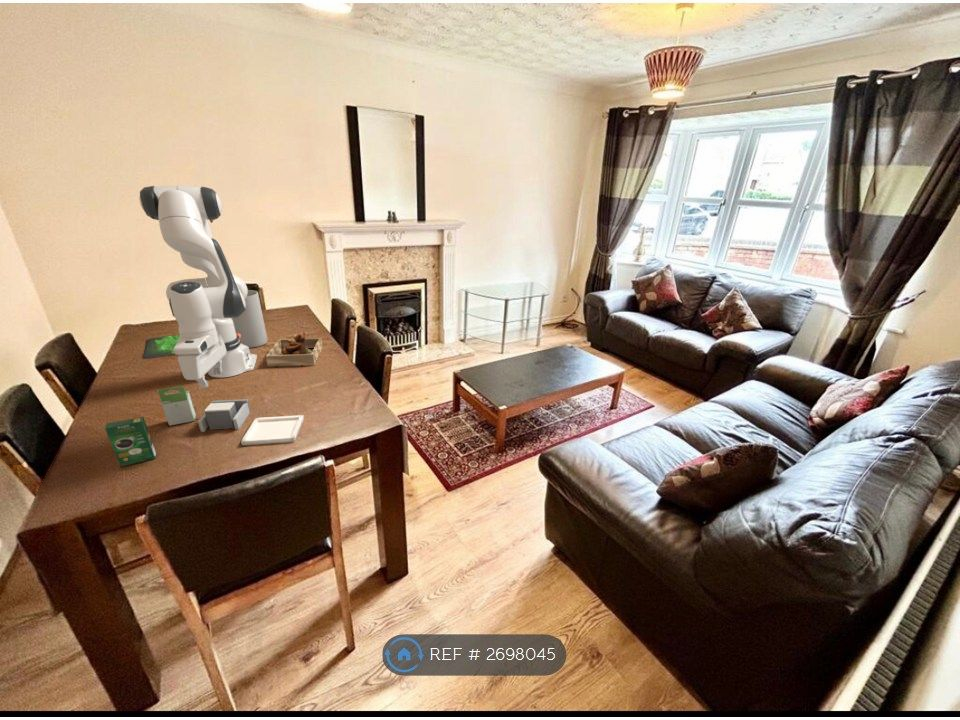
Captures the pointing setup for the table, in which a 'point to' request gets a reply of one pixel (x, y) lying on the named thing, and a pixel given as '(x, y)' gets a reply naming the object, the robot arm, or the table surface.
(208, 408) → the upright white block
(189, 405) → the ink box
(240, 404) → the bay
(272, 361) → the crate
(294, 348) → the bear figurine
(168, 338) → the mouse mat
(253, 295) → the cylinder vase
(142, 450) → the coffee box
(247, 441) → the tray
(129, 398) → the table surface
